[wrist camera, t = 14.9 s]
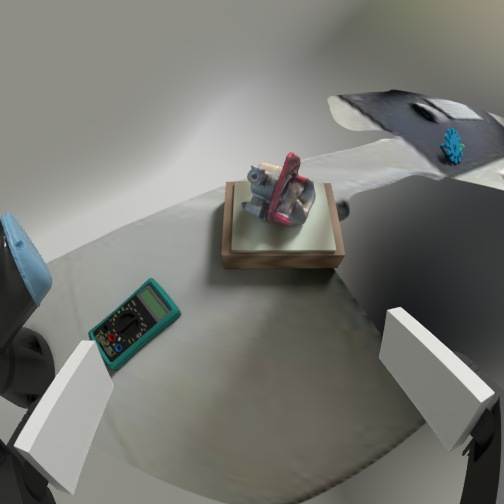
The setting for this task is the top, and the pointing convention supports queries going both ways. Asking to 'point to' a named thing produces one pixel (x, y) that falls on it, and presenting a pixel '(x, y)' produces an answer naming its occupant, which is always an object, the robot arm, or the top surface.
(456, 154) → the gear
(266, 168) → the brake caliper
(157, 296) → the digital multimeter
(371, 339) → the top surface
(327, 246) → the walnut stand
